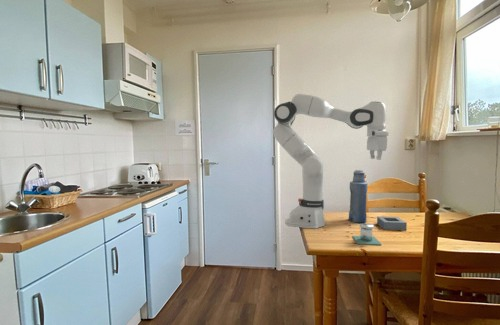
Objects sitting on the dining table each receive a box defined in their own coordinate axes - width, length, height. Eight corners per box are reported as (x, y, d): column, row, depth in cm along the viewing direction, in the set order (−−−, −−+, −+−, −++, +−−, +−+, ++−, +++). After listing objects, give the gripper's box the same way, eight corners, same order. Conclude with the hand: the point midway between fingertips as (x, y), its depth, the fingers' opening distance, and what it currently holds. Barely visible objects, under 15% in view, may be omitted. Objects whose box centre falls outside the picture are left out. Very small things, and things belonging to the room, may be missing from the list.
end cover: (361, 241, 123) (361, 226, 123) (357, 237, 129) (357, 222, 129) (375, 242, 122) (375, 227, 122) (371, 237, 129) (371, 223, 128)
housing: (384, 229, 142) (384, 222, 142) (377, 223, 153) (377, 216, 153) (406, 230, 141) (406, 222, 141) (397, 224, 152) (397, 217, 152)
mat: (358, 244, 122) (358, 243, 122) (352, 236, 131) (352, 235, 131) (381, 245, 120) (381, 244, 120) (373, 237, 130) (373, 236, 130)
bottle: (347, 218, 164) (348, 169, 162) (364, 218, 163) (365, 169, 161) (350, 222, 155) (351, 170, 153) (368, 223, 153) (369, 171, 151)
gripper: (364, 133, 153) (363, 158, 154) (376, 132, 132) (375, 160, 133) (375, 133, 152) (375, 158, 153) (390, 132, 132) (389, 160, 133)
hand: (375, 159), depth 143 cm, fingers open, 8 cm apart
